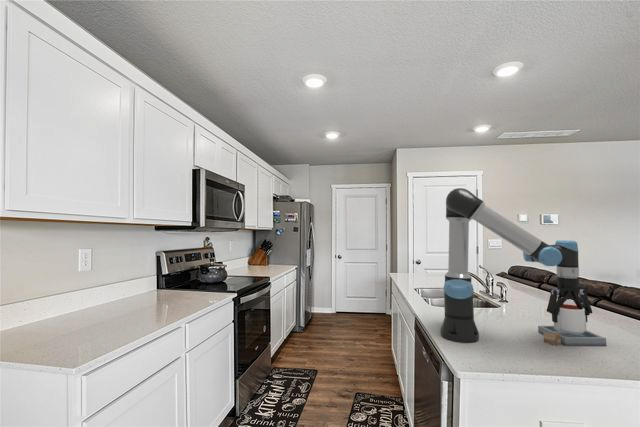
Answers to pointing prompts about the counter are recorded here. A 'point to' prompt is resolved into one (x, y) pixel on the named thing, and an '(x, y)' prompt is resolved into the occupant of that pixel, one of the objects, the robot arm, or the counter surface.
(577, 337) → the tray
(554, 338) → the oak block
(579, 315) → the cup
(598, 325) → the counter surface
